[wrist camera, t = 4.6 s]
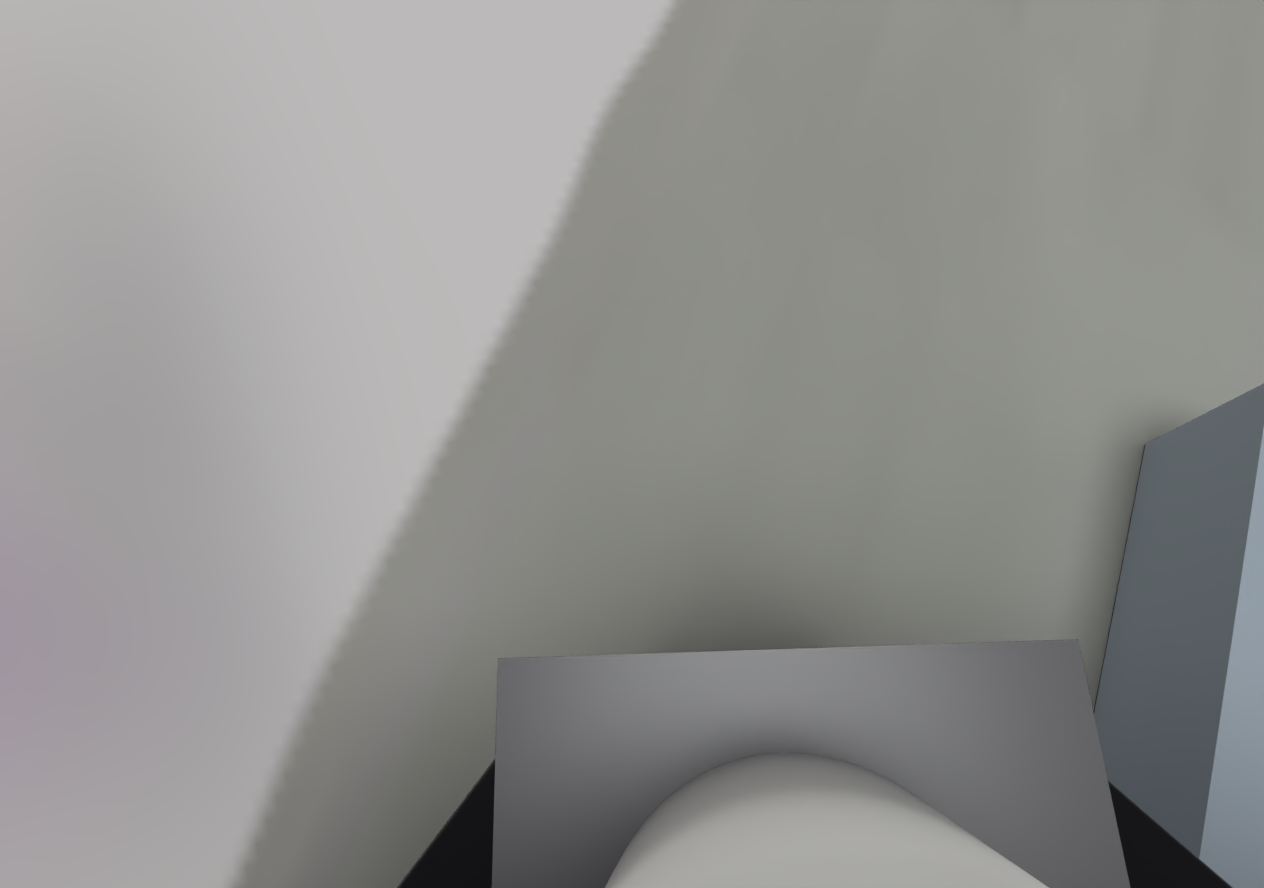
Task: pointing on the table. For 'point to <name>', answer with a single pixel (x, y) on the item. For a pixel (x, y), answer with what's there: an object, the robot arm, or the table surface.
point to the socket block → (1194, 642)
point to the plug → (803, 770)
